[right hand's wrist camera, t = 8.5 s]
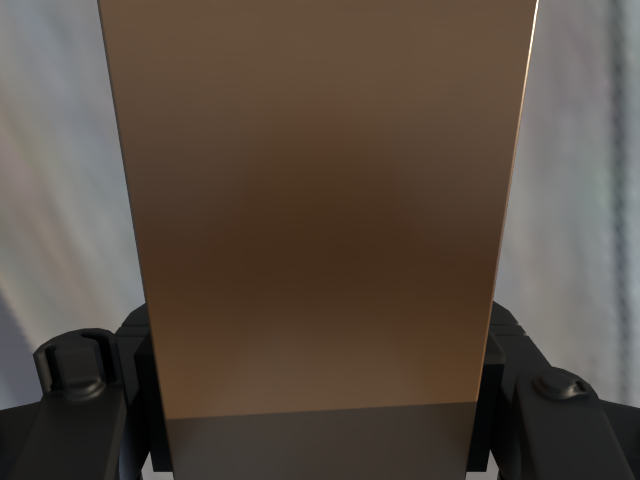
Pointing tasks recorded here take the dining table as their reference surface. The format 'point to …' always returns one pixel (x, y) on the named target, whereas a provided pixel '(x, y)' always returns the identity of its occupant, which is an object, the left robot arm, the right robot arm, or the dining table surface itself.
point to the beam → (318, 223)
